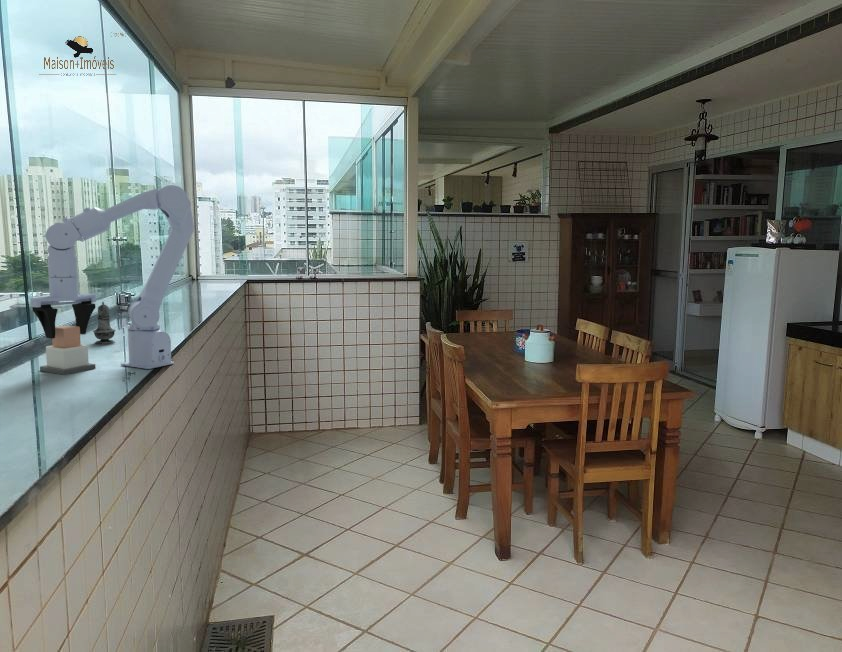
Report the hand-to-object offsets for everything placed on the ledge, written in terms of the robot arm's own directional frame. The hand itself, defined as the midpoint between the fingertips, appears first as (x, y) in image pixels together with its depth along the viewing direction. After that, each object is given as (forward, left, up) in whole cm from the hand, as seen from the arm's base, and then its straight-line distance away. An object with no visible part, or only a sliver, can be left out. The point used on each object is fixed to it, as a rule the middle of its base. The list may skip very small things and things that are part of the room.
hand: (66, 335), depth 141 cm
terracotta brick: (0, 0, -3) cm, 3 cm away
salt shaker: (+24, -29, -8) cm, 39 cm away
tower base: (0, 0, -8) cm, 8 cm away
